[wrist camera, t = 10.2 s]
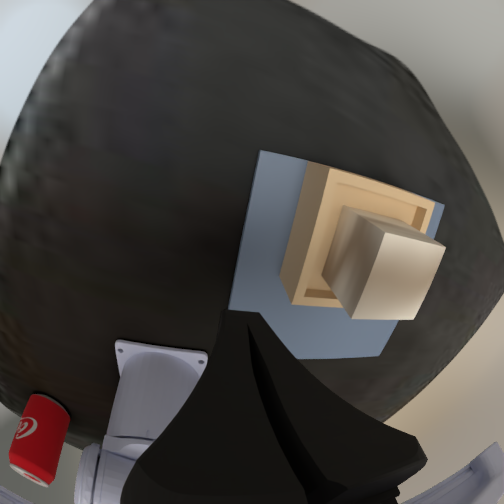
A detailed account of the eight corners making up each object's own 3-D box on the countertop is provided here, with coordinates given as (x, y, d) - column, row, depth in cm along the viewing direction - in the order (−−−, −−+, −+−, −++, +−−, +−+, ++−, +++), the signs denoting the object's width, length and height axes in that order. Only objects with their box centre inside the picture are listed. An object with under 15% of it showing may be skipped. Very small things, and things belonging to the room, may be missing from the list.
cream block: (377, 281, 17) (413, 319, 13) (321, 275, 17) (350, 318, 13) (400, 219, 16) (445, 247, 12) (342, 204, 15) (385, 232, 11)
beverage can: (25, 385, 22) (-4, 455, 12) (61, 396, 23) (36, 476, 13) (43, 412, 25) (22, 477, 14) (77, 422, 26) (60, 494, 15)
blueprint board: (376, 351, 25) (394, 379, 21) (220, 350, 22) (222, 388, 18) (440, 203, 19) (472, 218, 15) (259, 149, 16) (272, 154, 12)
